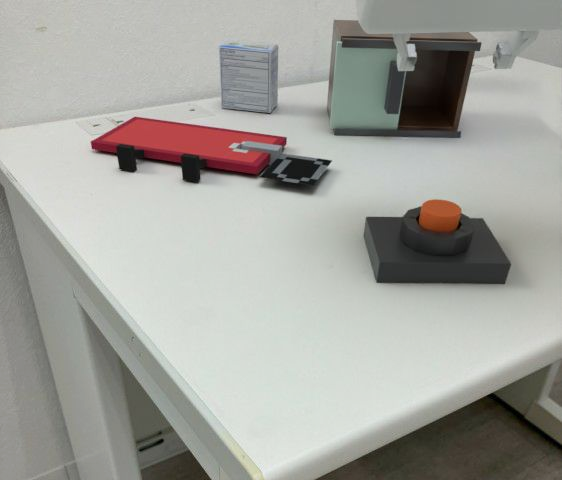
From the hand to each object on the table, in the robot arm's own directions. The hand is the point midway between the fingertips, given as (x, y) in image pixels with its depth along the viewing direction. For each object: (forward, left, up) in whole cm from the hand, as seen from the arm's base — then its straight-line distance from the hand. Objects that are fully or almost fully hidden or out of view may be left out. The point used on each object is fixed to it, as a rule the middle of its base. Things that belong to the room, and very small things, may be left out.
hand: (452, 65), depth 57 cm
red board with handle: (+27, +7, -15) cm, 31 cm away
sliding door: (+17, -14, -14) cm, 26 cm away
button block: (-6, +11, -14) cm, 19 cm away
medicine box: (+37, -12, -15) cm, 41 cm away
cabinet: (+18, -22, -14) cm, 32 cm away
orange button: (-6, +11, -11) cm, 16 cm away
